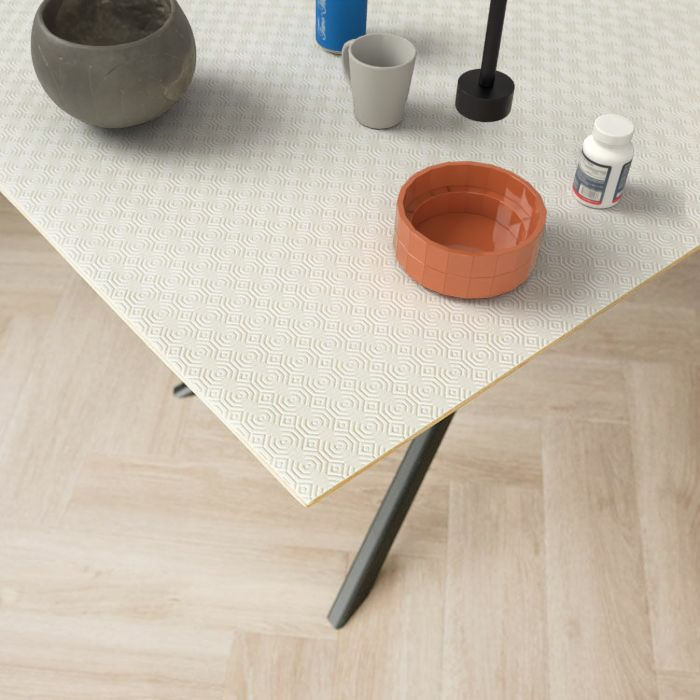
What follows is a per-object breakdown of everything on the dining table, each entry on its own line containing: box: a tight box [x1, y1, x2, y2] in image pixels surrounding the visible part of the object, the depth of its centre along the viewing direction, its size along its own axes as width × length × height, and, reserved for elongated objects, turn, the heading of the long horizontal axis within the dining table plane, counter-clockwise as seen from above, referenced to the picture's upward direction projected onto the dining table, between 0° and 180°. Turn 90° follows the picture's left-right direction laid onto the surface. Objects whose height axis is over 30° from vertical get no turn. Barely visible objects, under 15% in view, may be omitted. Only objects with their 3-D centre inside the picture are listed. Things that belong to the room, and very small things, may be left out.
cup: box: [340, 32, 418, 130], centre depth 104 cm, size 8×10×8 cm
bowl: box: [30, 0, 198, 129], centre depth 102 cm, size 18×18×13 cm
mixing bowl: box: [392, 160, 548, 300], centre depth 89 cm, size 14×14×6 cm
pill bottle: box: [571, 113, 635, 209], centre depth 95 cm, size 5×5×9 cm
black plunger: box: [454, 0, 516, 123], centre depth 78 cm, size 5×5×18 cm
